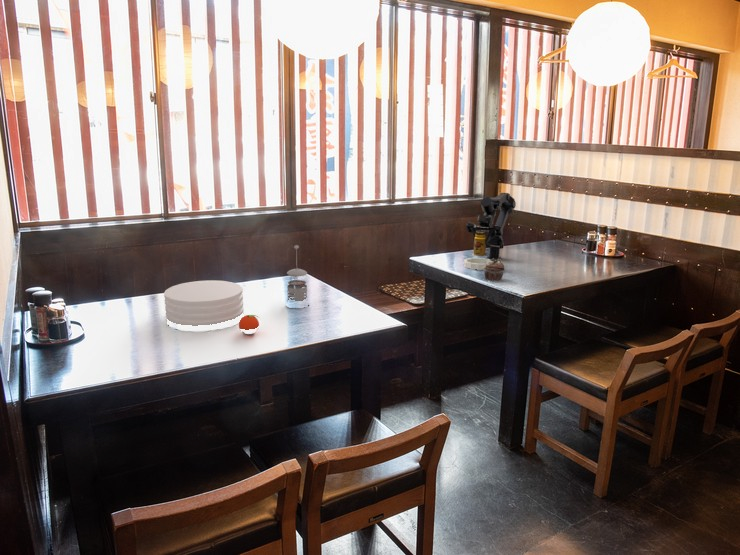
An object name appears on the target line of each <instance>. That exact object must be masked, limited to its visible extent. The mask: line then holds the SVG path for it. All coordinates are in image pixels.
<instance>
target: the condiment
mask: <svg viewBox="0 0 740 555" xmlns="http://www.w3.org/2000/svg"><path fill="white" fill-rule="evenodd" d="M486 232H487V231H481V230H477V232H476V235H475V238H474V241H473V251H472V252H471V253H472V256H473V257H474V256H476V257H488V254H487V252H486V250H487V247H486V243H485V241H486V237H487V236H486Z"/></svg>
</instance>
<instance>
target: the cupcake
mask: <svg viewBox="0 0 740 555" xmlns="http://www.w3.org/2000/svg"><path fill="white" fill-rule="evenodd" d="M483 272H484V279H485V278H486V280H487V279H488V280H487V281H494V280H497V281H501V280H502V279H503V277H504V276H503V275H504V272H505V265H504V263H503V262H502V259H501V258H500V259H494V258H493V259H490V262H489V263H487V264H486V267H485V268H484V270H483Z"/></svg>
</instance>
